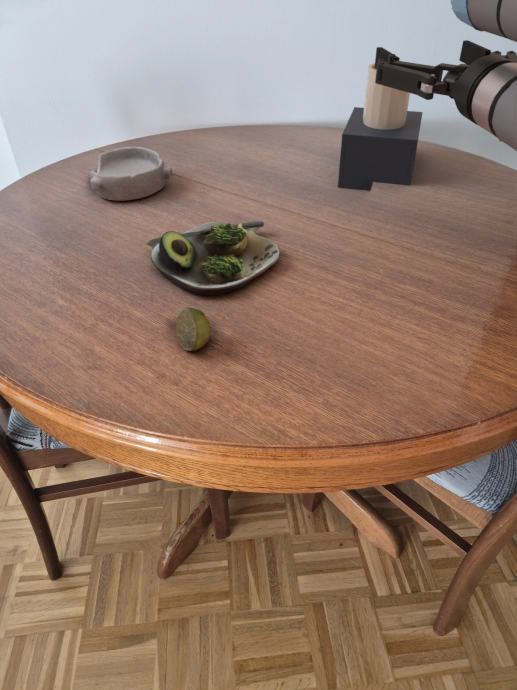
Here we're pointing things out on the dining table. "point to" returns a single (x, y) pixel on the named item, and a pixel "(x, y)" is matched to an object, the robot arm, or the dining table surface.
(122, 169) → the dish
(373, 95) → the cup
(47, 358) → the dining table surface
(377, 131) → the cabinet
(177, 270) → the salad plate
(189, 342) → the lime
